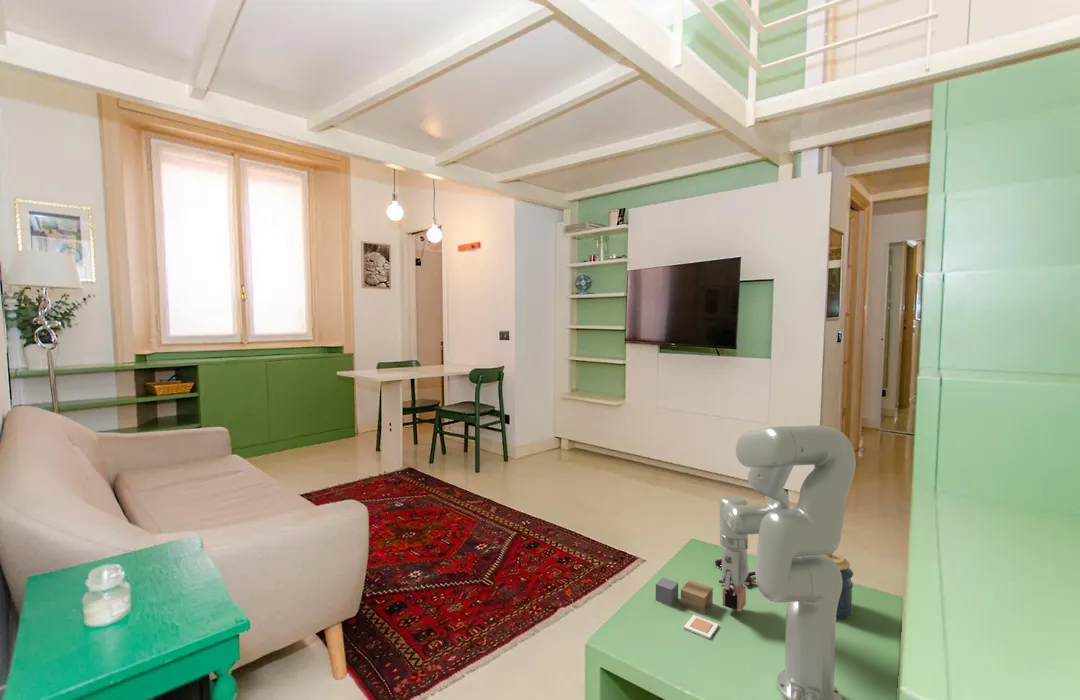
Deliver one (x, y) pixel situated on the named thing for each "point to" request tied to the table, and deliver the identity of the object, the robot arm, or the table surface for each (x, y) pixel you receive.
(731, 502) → the robot arm
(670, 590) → the charcoal block
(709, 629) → the card
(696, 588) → the walnut block
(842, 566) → the canister
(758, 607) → the table surface
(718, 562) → the brown spindly figurine
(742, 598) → the terracotta block
